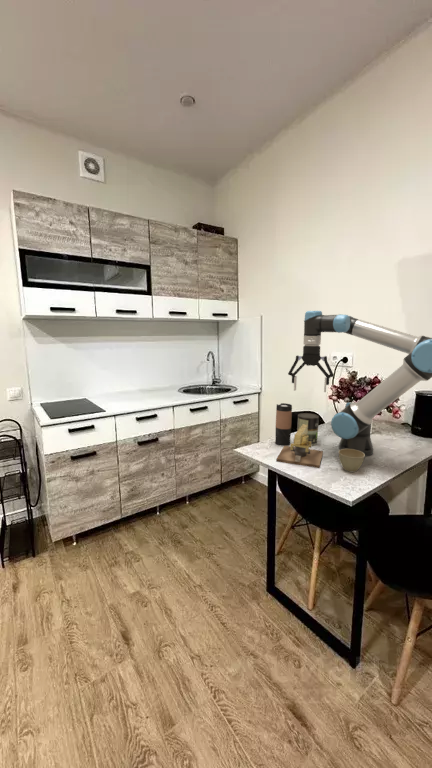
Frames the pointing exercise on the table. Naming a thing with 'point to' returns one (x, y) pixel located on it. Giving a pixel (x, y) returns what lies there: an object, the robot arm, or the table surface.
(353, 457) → the flower pot
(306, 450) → the coupling
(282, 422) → the travel mug
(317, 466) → the base
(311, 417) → the coffee can
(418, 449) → the table surface
